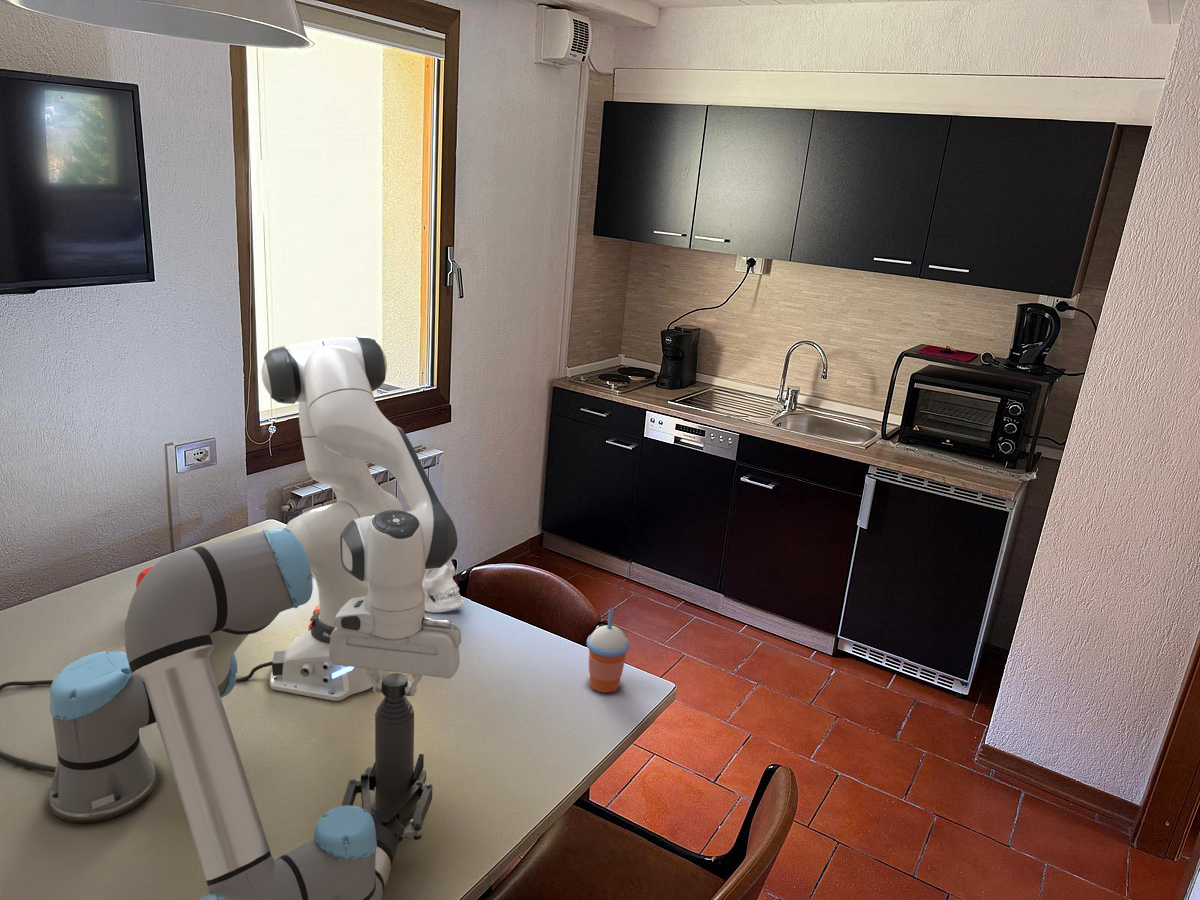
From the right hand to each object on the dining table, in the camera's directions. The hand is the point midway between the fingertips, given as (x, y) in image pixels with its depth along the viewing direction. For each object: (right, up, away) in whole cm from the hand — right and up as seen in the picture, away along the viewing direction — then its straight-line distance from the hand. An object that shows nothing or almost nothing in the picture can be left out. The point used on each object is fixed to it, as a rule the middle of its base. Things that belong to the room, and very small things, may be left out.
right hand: (394, 692), depth 136 cm
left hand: (-1, -14, +10) cm, 17 cm away
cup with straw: (+34, -12, +47) cm, 59 cm away
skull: (-11, +1, +77) cm, 78 cm away
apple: (-70, +2, +64) cm, 95 cm away
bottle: (-2, -22, +7) cm, 23 cm away
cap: (0, +2, -1) cm, 2 cm away
